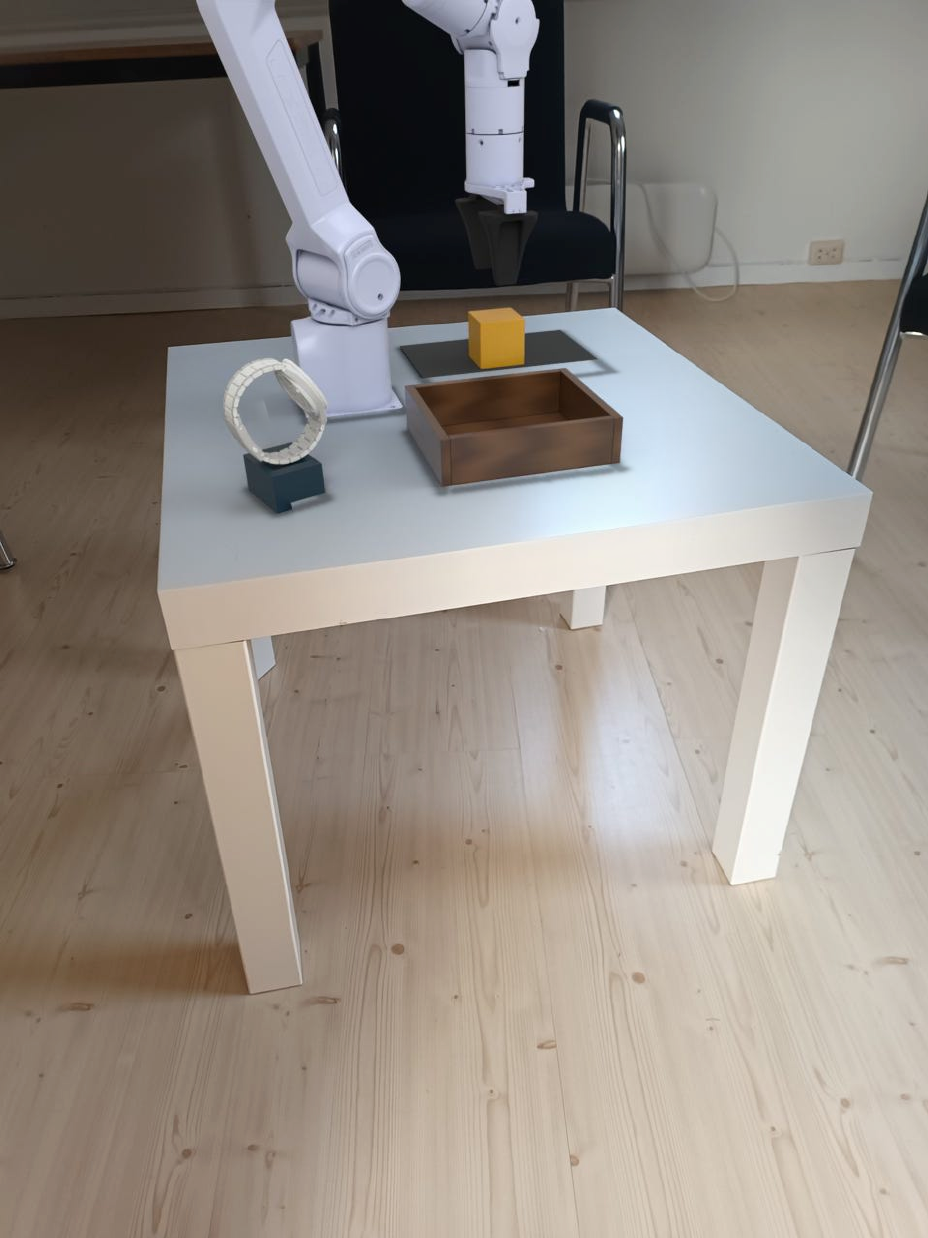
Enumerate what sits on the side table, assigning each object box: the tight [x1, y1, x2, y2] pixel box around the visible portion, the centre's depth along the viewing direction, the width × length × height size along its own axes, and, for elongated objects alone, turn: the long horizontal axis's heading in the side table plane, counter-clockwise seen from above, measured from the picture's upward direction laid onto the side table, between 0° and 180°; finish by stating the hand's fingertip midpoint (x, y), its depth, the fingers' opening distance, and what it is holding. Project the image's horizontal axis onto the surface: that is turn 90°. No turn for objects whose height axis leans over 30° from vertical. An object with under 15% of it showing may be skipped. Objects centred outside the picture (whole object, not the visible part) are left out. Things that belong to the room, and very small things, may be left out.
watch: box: [222, 357, 328, 514], centre depth 73 cm, size 6×8×11 cm
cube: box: [467, 307, 526, 369], centre depth 102 cm, size 5×5×5 cm
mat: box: [399, 329, 598, 379], centre depth 104 cm, size 20×16×1 cm
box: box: [404, 367, 624, 488], centre depth 81 cm, size 16×14×5 cm
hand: (494, 275), depth 98 cm, fingers open, 7 cm apart
